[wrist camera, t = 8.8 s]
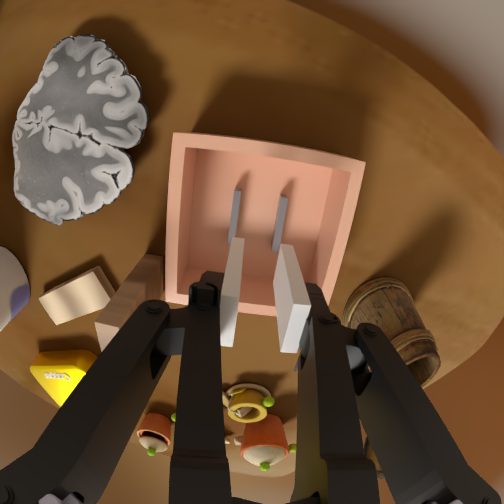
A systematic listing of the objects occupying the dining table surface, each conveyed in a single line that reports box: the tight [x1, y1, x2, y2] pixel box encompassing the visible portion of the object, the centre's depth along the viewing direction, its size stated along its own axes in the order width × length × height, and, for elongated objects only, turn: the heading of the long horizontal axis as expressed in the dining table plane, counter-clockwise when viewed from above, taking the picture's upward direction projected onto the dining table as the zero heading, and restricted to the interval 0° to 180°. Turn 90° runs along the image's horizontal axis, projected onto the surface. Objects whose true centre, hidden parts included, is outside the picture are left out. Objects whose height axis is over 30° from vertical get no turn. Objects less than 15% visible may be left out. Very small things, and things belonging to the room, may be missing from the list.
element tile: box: [30, 349, 98, 407], centre depth 37 cm, size 15×15×5 cm
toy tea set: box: [137, 383, 297, 471], centre depth 37 cm, size 26×16×10 cm, turn 119°
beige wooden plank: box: [38, 266, 116, 325], centre depth 31 cm, size 12×4×2 cm, turn 112°
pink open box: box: [165, 132, 366, 316], centre depth 24 cm, size 14×14×6 cm
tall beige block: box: [95, 254, 163, 352], centre depth 24 cm, size 4×2×12 cm, turn 172°
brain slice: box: [12, 35, 149, 225], centre depth 22 cm, size 20×17×3 cm
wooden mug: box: [343, 277, 441, 479], centre depth 24 cm, size 9×14×18 cm, turn 164°
